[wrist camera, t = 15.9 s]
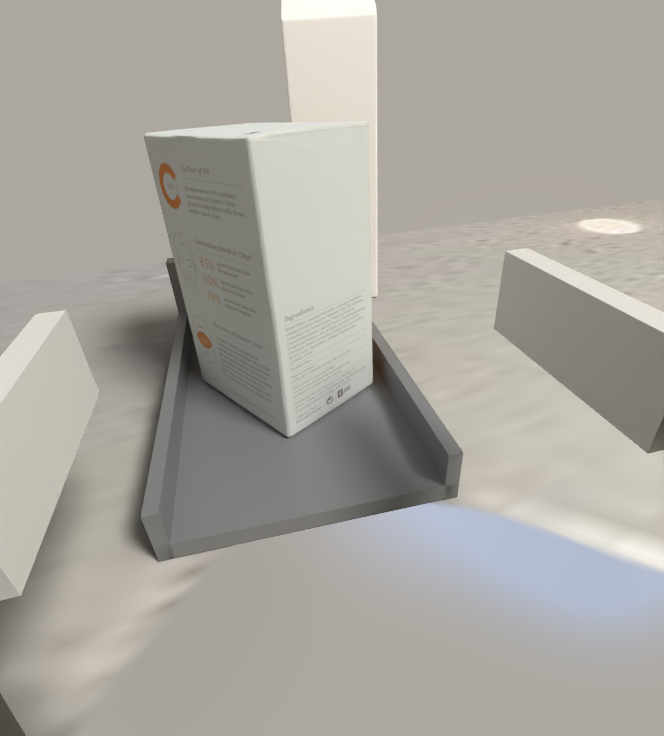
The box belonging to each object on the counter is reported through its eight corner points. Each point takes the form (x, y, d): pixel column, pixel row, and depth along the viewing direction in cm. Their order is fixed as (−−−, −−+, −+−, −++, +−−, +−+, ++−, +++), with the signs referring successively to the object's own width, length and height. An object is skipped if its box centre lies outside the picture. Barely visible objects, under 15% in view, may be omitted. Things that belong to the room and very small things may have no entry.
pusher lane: (158, 561, 17) (108, 441, 14) (187, 338, 33) (167, 258, 30) (457, 496, 19) (472, 377, 16) (348, 314, 35) (344, 237, 32)
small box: (375, 385, 25) (374, 118, 18) (288, 442, 21) (245, 134, 14) (283, 341, 30) (255, 119, 23) (200, 381, 26) (137, 131, 19)
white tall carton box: (308, 277, 42) (280, -26, 31) (371, 273, 42) (367, -32, 31) (306, 302, 37) (272, -50, 26) (379, 298, 37) (377, -58, 26)
